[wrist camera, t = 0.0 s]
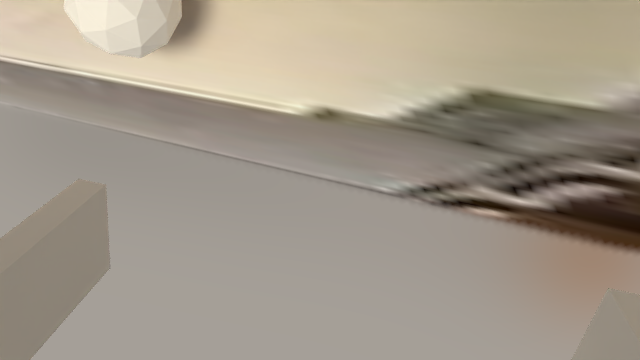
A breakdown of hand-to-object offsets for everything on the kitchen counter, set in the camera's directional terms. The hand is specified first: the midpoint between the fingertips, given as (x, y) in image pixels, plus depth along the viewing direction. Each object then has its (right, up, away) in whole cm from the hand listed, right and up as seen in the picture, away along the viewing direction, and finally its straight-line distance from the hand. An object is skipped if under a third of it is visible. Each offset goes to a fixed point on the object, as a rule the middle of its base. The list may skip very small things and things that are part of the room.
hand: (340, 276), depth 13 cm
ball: (-14, +17, +26) cm, 34 cm away
